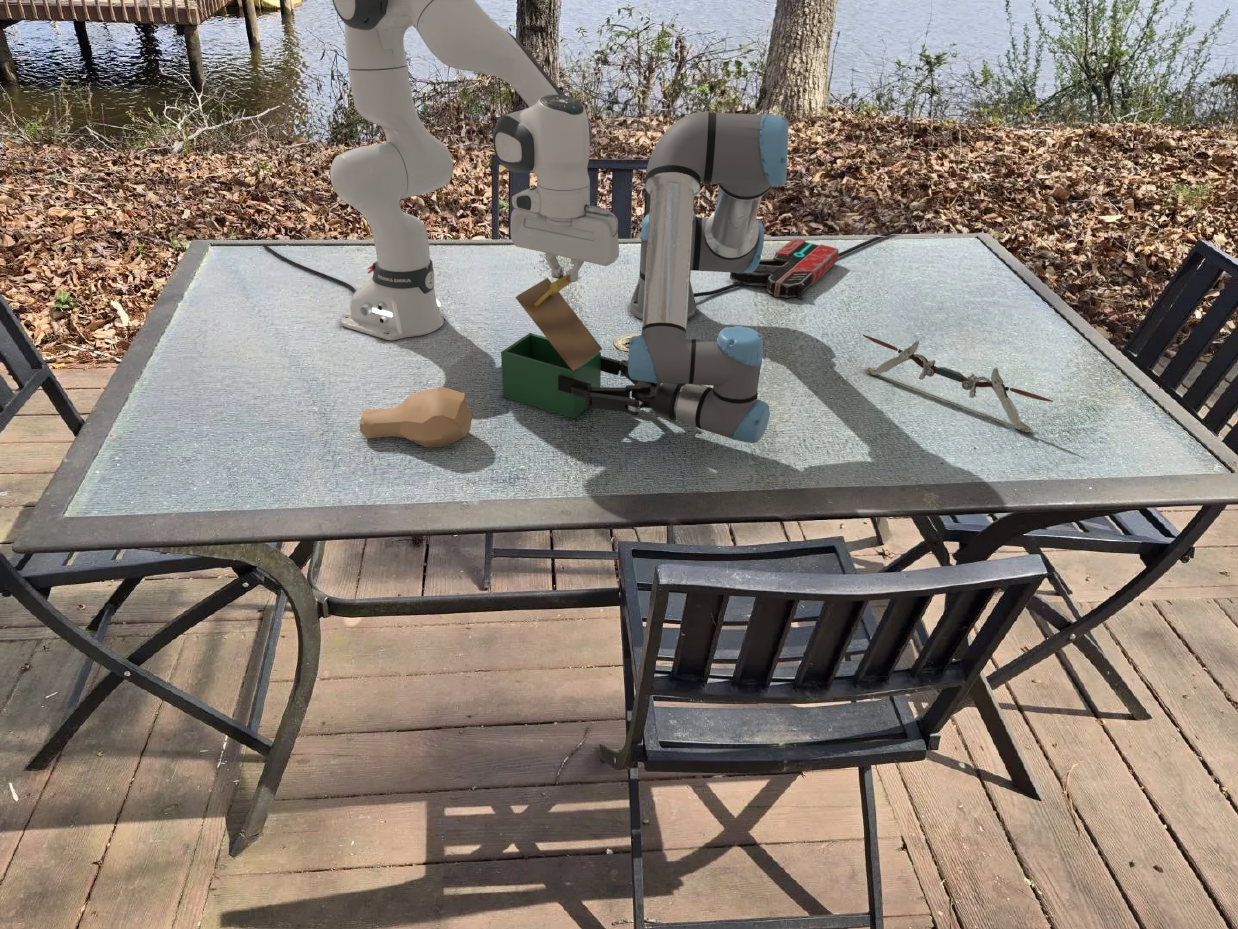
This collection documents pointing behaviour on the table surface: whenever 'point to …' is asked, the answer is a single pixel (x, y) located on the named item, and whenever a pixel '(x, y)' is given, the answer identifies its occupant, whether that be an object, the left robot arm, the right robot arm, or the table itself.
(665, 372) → the right robot arm
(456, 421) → the squash
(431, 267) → the left robot arm
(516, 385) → the chest
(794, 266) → the gun
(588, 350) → the lid
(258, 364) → the table surface
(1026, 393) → the bow
